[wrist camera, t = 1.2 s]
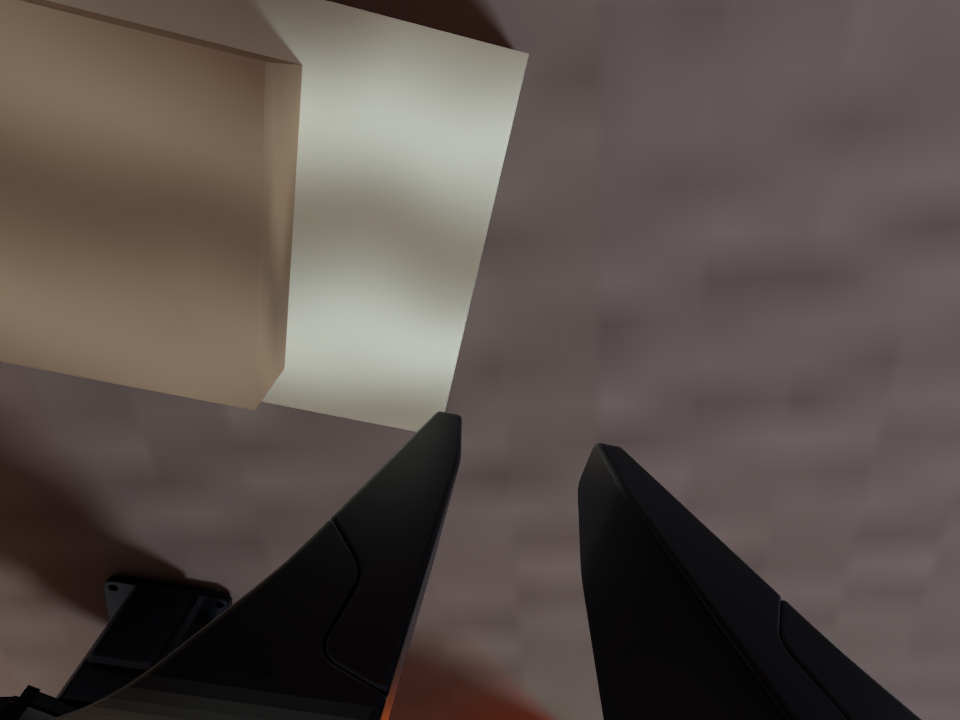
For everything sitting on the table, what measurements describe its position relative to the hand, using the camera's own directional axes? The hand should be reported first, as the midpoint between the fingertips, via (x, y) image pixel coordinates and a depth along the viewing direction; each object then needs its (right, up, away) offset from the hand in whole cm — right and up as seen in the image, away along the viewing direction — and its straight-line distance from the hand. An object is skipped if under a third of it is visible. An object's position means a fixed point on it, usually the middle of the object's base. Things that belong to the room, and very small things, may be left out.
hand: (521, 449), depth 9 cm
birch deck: (-9, +7, +10) cm, 15 cm away
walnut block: (-10, +6, +6) cm, 13 cm away
